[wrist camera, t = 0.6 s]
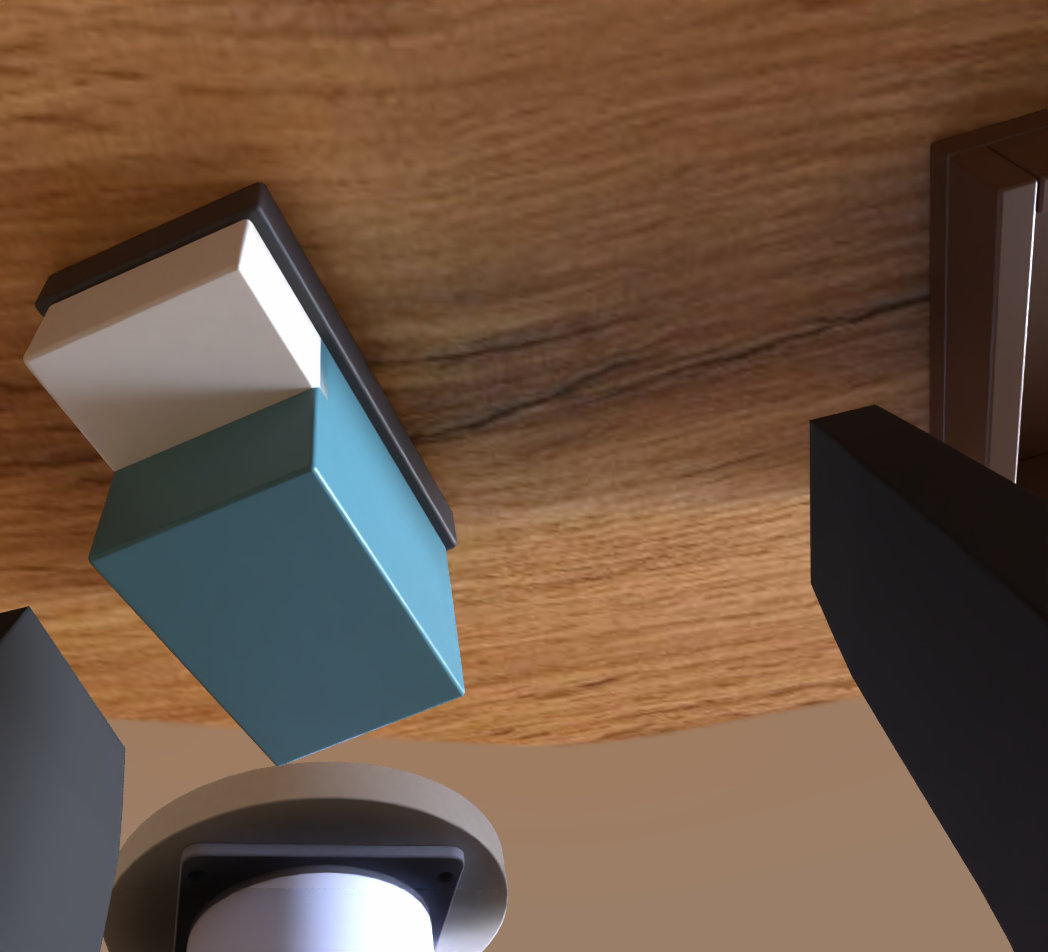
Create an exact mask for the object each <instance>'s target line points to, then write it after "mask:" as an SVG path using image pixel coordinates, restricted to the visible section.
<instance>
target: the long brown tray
mask: <svg viewBox="0 0 1048 952" xmlns="http://www.w3.org/2000/svg"><path fill="white" fill-rule="evenodd" d="M930 435H931V436H933V437H935V438H937V439H938V440H940V441H942V442H944V443H945V444H947V445H949V446H951V447H952V448H954V449H956V450H957V451H959V452H961V453H963V454H965V455H966V456H968V457H970V458H972V459H973V460H975V461H977V462H979V463H980V464H982V465H984V466H986V467H987V468H989V469H991V470H993V471H995V472H996V473H998V474H1000V475H1002V476H1003V477H1005V478H1007V479H1009V480H1011V481H1012V482H1014V483H1016V484H1018V485H1020V486H1021V487H1023V488H1025V489H1027V490H1029V491H1030V492H1032V493H1034V494H1036V495H1038V496H1039V497H1041V498H1043V499H1045V500H1047V501H1048V109H1045V110H1042V111H1038V112H1035V113H1032V114H1028V115H1025V116H1022V117H1018V118H1015V119H1012V120H1008V121H1005V122H1002V123H998V124H995V125H992V126H988V127H985V128H982V129H979V130H975V131H972V132H969V133H965V134H962V135H959V136H955V137H952V138H949V139H945V140H942V141H939V142H935V143H933V144H931V178H930Z"/></svg>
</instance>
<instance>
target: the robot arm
mask: <svg viewBox="0 0 1048 952" xmlns="http://www.w3.org/2000/svg"><path fill="white" fill-rule="evenodd" d="M810 546H811V585H812V587H813V590H814V592H815V594H816V597H817V599H818V601H819V604H820V606H821V608H822V610H823V613H824V615H825V617H826V620H827V622H828V624H829V627H830V629H831V631H832V634H833V636H834V638H835V640H836V642H837V645H838V647H839V649H840V651H841V653H842V656H843V658H844V660H845V662H846V664H847V667H848V669H849V671H850V673H851V675H852V677H853V679H854V680H855V682H856V684H857V686H858V687H859V689H860V691H861V692H862V694H863V696H864V698H865V699H866V701H867V703H868V704H869V706H870V707H871V709H872V711H873V713H874V714H875V716H876V718H877V719H878V721H879V723H880V724H881V726H882V727H883V729H884V731H885V733H886V734H887V736H888V738H889V739H890V741H891V742H892V744H893V746H894V748H895V749H896V751H897V752H898V754H899V756H900V757H901V759H902V761H903V762H904V764H905V766H906V767H907V769H908V771H909V772H910V774H911V776H912V777H913V779H914V780H915V782H916V784H917V786H918V787H919V789H920V790H921V792H922V794H923V795H924V797H925V799H926V800H927V802H928V804H929V805H930V807H931V809H932V810H933V812H934V813H935V815H936V817H937V818H938V820H939V821H940V823H941V825H942V827H943V828H944V830H945V831H946V833H947V835H948V837H949V838H950V840H951V841H952V843H953V845H954V846H955V848H956V850H957V851H958V853H959V854H960V856H961V858H962V859H963V861H964V863H965V865H966V866H967V868H968V869H969V871H970V873H971V874H972V876H973V878H974V879H975V881H976V883H977V884H978V886H979V888H980V890H981V891H982V893H983V895H984V897H985V898H986V900H987V902H988V904H989V906H990V908H991V909H992V911H993V913H994V915H995V917H996V918H997V920H998V922H999V924H1000V926H1001V927H1002V929H1003V931H1004V933H1005V935H1006V936H1007V938H1008V940H1009V942H1010V944H1011V947H1012V949H1013V951H1014V952H1048V501H1047V500H1045V499H1043V498H1041V497H1039V496H1038V495H1036V494H1034V493H1032V492H1030V491H1029V490H1027V489H1025V488H1023V487H1021V486H1020V485H1018V484H1016V483H1014V482H1012V481H1011V480H1009V479H1007V478H1005V477H1003V476H1002V475H1000V474H998V473H996V472H995V471H993V470H991V469H989V468H987V467H986V466H984V465H982V464H980V463H979V462H977V461H975V460H973V459H972V458H970V457H968V456H966V455H965V454H963V453H961V452H959V451H957V450H956V449H954V448H952V447H951V446H949V445H947V444H945V443H944V442H942V441H940V440H938V439H937V438H935V437H933V436H931V435H930V434H928V433H926V432H924V431H923V430H921V429H919V428H917V427H915V426H914V425H912V424H910V423H908V422H907V421H905V420H903V419H901V418H899V417H898V416H896V415H894V414H892V413H890V412H888V411H886V410H884V409H883V408H881V407H879V406H877V405H871V406H867V407H863V408H859V409H855V410H850V411H846V412H842V413H838V414H834V415H829V416H825V417H821V418H817V419H813V420H810ZM124 764H125V747H124V746H123V744H122V743H121V741H120V740H119V738H118V737H117V735H116V734H115V732H114V731H113V729H112V728H111V727H110V725H109V723H108V722H107V721H106V719H105V718H104V716H103V715H102V713H101V712H100V710H99V709H98V707H97V706H96V704H95V703H94V701H93V700H92V698H91V697H90V695H89V694H88V692H87V691H86V689H85V688H84V687H83V685H82V684H81V682H80V681H79V679H78V678H77V676H76V675H75V673H74V672H73V670H72V669H71V667H70V666H69V664H68V663H67V661H66V660H65V658H64V657H63V655H62V654H61V652H60V651H59V650H58V648H57V647H56V645H55V644H54V642H53V641H52V639H51V638H50V636H49V635H48V633H47V632H46V630H45V629H44V627H43V626H42V624H41V623H40V621H39V620H38V618H37V617H36V616H35V614H34V613H33V611H32V610H31V608H30V607H29V606H28V607H24V608H20V609H16V610H11V611H7V612H3V613H0V952H100V949H101V944H102V939H103V934H104V929H105V924H106V919H107V914H108V909H109V904H110V898H111V893H112V888H113V883H114V878H115V872H116V867H117V861H118V856H119V846H120V833H121V821H122V808H123V788H124ZM464 866H465V861H464V853H463V852H462V850H461V849H459V848H457V847H453V846H408V845H331V844H254V843H195V844H192V845H190V846H188V847H186V848H185V849H184V850H183V852H182V855H181V862H180V873H179V885H178V897H177V909H176V921H175V933H174V945H173V952H435V950H436V947H437V944H438V941H439V938H440V935H441V932H442V930H443V927H444V924H445V921H446V918H447V915H448V912H449V909H450V906H451V904H452V901H453V898H454V895H455V892H456V889H457V886H458V883H459V880H460V877H461V875H462V872H463V869H464Z"/></svg>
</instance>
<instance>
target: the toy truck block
mask: <svg viewBox="0 0 1048 952" xmlns="http://www.w3.org/2000/svg"><path fill="white" fill-rule="evenodd" d="M35 306H36V308H37V310H38V311H39V312H40V313H41V315H42V316H43V317H44V318H43V320H42V322H41V324H40V326H39V328H38V330H37V332H36V334H35V336H34V338H33V340H32V342H31V343H30V345H29V347H28V349H27V351H26V353H25V355H24V357H23V361H24V364H25V365H26V366H27V368H28V369H29V370H30V371H31V372H32V374H33V375H34V376H35V377H36V378H37V380H38V381H39V382H40V383H41V384H42V386H43V387H44V388H45V389H46V390H47V392H48V393H49V394H50V395H51V396H52V398H53V399H54V400H55V401H56V402H57V404H58V405H59V406H60V407H61V408H62V410H63V411H64V412H65V413H66V415H67V416H68V417H69V418H70V419H71V421H72V422H73V423H74V424H75V425H76V427H77V428H78V429H79V430H80V431H81V433H82V434H83V435H84V436H85V437H86V439H87V440H88V441H89V442H90V443H91V445H92V446H93V447H94V448H95V449H96V451H97V452H98V453H99V454H100V455H101V457H102V458H103V459H104V460H105V462H106V463H107V464H108V465H109V466H110V468H111V469H112V470H113V471H114V475H113V479H112V482H111V485H110V488H109V492H108V495H107V498H106V501H105V505H104V508H103V511H102V514H101V518H100V521H99V524H98V527H97V531H96V534H95V537H94V540H93V544H92V547H91V550H90V553H89V557H88V559H89V562H90V564H91V565H92V566H93V567H94V568H95V569H96V570H97V571H98V572H99V573H100V574H101V576H102V577H103V578H104V579H105V580H106V581H107V582H108V583H109V584H110V585H111V586H112V588H113V589H114V590H115V591H116V592H117V593H118V594H119V595H120V596H121V597H122V598H123V599H124V601H125V602H126V603H127V604H128V605H129V606H130V607H131V608H132V609H133V610H134V611H135V613H136V614H137V615H138V616H139V617H140V618H141V619H142V620H143V621H144V622H145V623H146V625H147V626H148V627H149V628H150V629H151V630H152V631H153V632H154V633H155V634H156V635H157V637H158V638H159V639H160V640H161V641H162V642H163V643H164V644H165V645H166V646H167V647H168V648H169V650H170V651H171V652H172V653H173V654H174V655H175V656H176V657H177V658H178V659H179V660H180V662H181V663H182V664H183V665H184V666H185V667H186V668H187V669H188V670H189V671H190V672H191V674H192V675H193V676H194V677H195V678H196V679H197V680H198V681H199V682H200V683H201V684H202V685H203V687H204V688H205V689H206V690H207V691H208V692H209V693H210V694H211V695H212V696H213V697H214V699H215V700H216V701H217V702H218V703H219V704H220V705H221V706H222V707H223V708H224V709H225V711H226V712H227V713H228V714H229V715H230V716H231V717H232V718H233V719H234V720H235V721H236V723H237V724H238V725H239V726H240V727H241V728H242V729H243V730H244V731H245V732H246V733H247V734H248V736H250V738H251V739H252V740H253V741H254V742H255V743H256V744H257V745H258V746H259V748H261V750H262V751H263V752H264V753H265V754H266V755H267V756H268V757H269V758H270V759H271V761H272V762H273V763H274V764H275V765H276V766H282V765H284V764H287V763H290V762H292V761H295V760H297V759H300V758H303V757H305V756H308V755H310V754H313V753H316V752H318V751H321V750H324V749H326V748H329V747H331V746H334V745H337V744H339V743H342V742H344V741H347V740H350V739H352V738H355V737H357V736H360V735H363V734H365V733H368V732H371V731H373V730H376V729H378V728H381V727H384V726H386V725H389V724H391V723H394V722H397V721H399V720H402V719H405V718H407V717H410V716H412V715H415V714H418V713H420V712H423V711H425V710H428V709H431V708H433V707H436V706H438V705H441V704H444V703H446V702H449V701H452V700H454V699H457V698H459V697H462V696H463V695H464V693H465V689H464V682H463V674H462V667H461V659H460V652H459V644H458V637H457V629H456V622H455V615H454V607H453V600H452V592H451V585H450V577H449V570H448V562H447V555H446V551H447V550H449V549H452V548H454V547H455V546H456V545H457V539H456V532H455V526H454V519H453V513H452V511H451V509H450V508H449V506H448V504H447V502H446V501H445V499H444V497H443V495H442V494H441V492H440V490H439V488H438V487H437V485H436V483H435V481H434V480H433V478H432V476H431V474H430V473H429V471H428V469H427V467H426V466H425V464H424V462H423V460H422V459H421V457H420V455H419V453H418V452H417V450H416V448H415V446H414V445H413V443H412V441H411V439H410V438H409V436H408V434H407V432H406V431H405V429H404V427H403V425H402V424H401V422H400V420H399V418H398V417H397V415H396V413H395V411H394V410H393V408H392V406H391V404H390V403H389V401H388V399H387V397H386V395H385V394H384V392H383V390H382V388H381V387H380V385H379V383H378V381H377V380H376V378H375V376H374V374H373V373H372V371H371V369H370V367H369V366H368V364H367V362H366V360H365V359H364V357H363V355H362V353H361V352H360V350H359V348H358V346H357V345H356V343H355V341H354V339H353V338H352V336H351V334H350V332H349V331H348V329H347V327H346V325H345V324H344V322H343V320H342V318H341V317H340V315H339V313H338V311H337V310H336V308H335V306H334V304H333V303H332V301H331V299H330V297H329V296H328V294H327V292H326V290H325V289H324V287H323V285H322V283H321V282H320V280H319V278H318V276H317V275H316V273H315V271H314V269H313V268H312V266H311V264H310V262H309V261H308V259H307V257H306V255H305V254H304V252H303V250H302V248H301V247H300V245H299V243H298V241H297V240H296V238H295V236H294V234H293V233H292V231H291V229H290V227H289V226H288V224H287V222H286V220H285V219H284V217H283V215H282V213H281V212H280V210H279V208H278V206H277V205H276V203H275V201H274V199H273V198H272V196H271V194H270V192H269V191H268V189H267V187H266V185H264V184H263V183H262V182H257V183H255V184H252V185H250V186H248V187H246V188H243V189H241V190H239V191H237V192H235V193H232V194H230V195H228V196H226V197H223V198H221V199H219V200H217V201H215V202H212V203H210V204H208V205H206V206H203V207H201V208H199V209H197V210H194V211H192V212H190V213H188V214H186V215H183V216H181V217H179V218H177V219H174V220H172V221H170V222H168V223H166V224H163V225H161V226H159V227H157V228H154V229H152V230H150V231H148V232H146V233H143V234H141V235H139V236H137V237H134V238H132V239H130V240H128V241H126V242H123V243H121V244H119V245H117V246H114V247H112V248H110V249H108V250H106V251H103V252H101V253H99V254H97V255H94V256H92V257H90V258H88V259H86V260H83V261H81V262H79V263H77V264H74V265H72V266H70V267H68V268H66V269H63V270H61V271H59V272H57V273H54V274H52V275H50V277H49V278H48V279H47V281H46V283H45V285H44V287H43V289H42V291H41V292H40V294H39V296H38V298H37V300H36V302H35Z"/></svg>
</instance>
